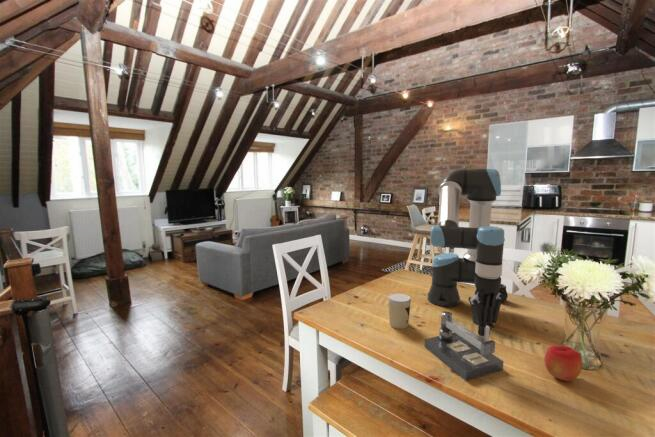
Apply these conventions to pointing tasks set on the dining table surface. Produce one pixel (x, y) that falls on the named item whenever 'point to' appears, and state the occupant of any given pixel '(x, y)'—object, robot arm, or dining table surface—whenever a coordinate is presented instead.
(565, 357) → the apple
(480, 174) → the robot arm
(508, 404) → the dining table surface
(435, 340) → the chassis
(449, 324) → the grey bar
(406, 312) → the coffee cup
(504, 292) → the mate gourd
